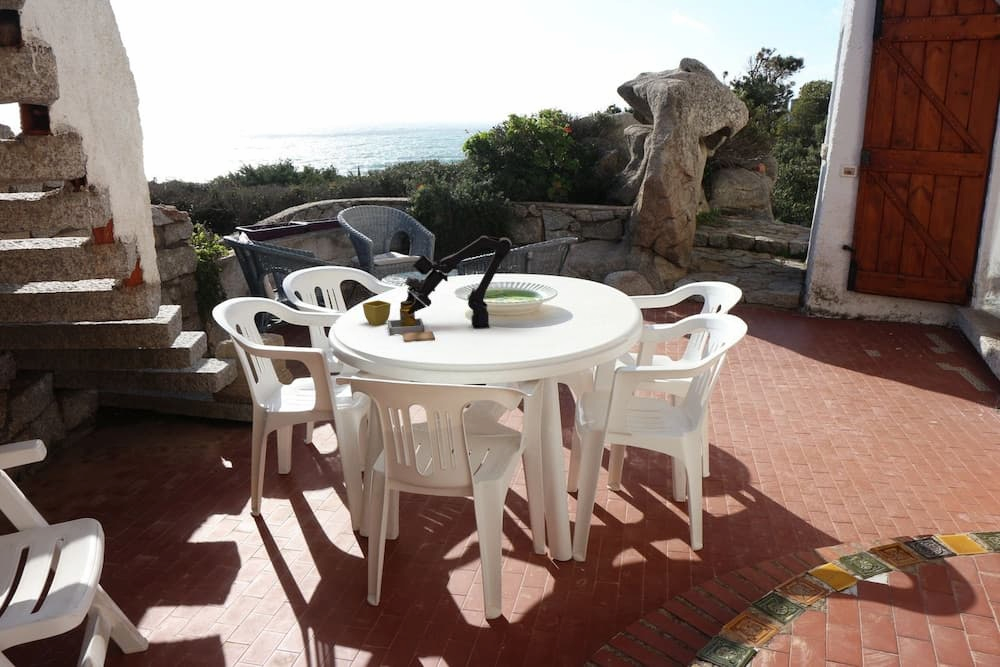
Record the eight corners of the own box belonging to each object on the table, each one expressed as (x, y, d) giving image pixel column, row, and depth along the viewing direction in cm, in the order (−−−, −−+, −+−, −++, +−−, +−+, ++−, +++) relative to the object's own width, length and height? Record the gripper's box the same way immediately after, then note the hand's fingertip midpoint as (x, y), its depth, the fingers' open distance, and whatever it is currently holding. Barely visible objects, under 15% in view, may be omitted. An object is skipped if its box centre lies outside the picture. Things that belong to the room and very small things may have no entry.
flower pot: (392, 323, 314) (391, 302, 312) (375, 327, 308) (374, 306, 305) (379, 320, 320) (378, 299, 317) (363, 324, 314) (361, 303, 311)
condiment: (419, 330, 302) (417, 302, 299) (400, 333, 297) (399, 305, 294) (411, 326, 308) (409, 299, 305) (392, 330, 303) (391, 301, 300)
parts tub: (421, 325, 310) (421, 318, 309) (424, 333, 298) (424, 325, 297) (388, 327, 307) (387, 320, 307) (389, 335, 295) (389, 328, 294)
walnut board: (432, 333, 297) (432, 331, 297) (435, 340, 287) (435, 337, 287) (402, 335, 295) (402, 333, 294) (404, 342, 285) (404, 339, 285)
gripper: (411, 266, 306) (386, 294, 306) (422, 274, 289) (396, 303, 289) (430, 283, 311) (405, 310, 310) (442, 291, 294) (416, 321, 293)
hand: (405, 311), depth 301 cm, fingers open, 9 cm apart
